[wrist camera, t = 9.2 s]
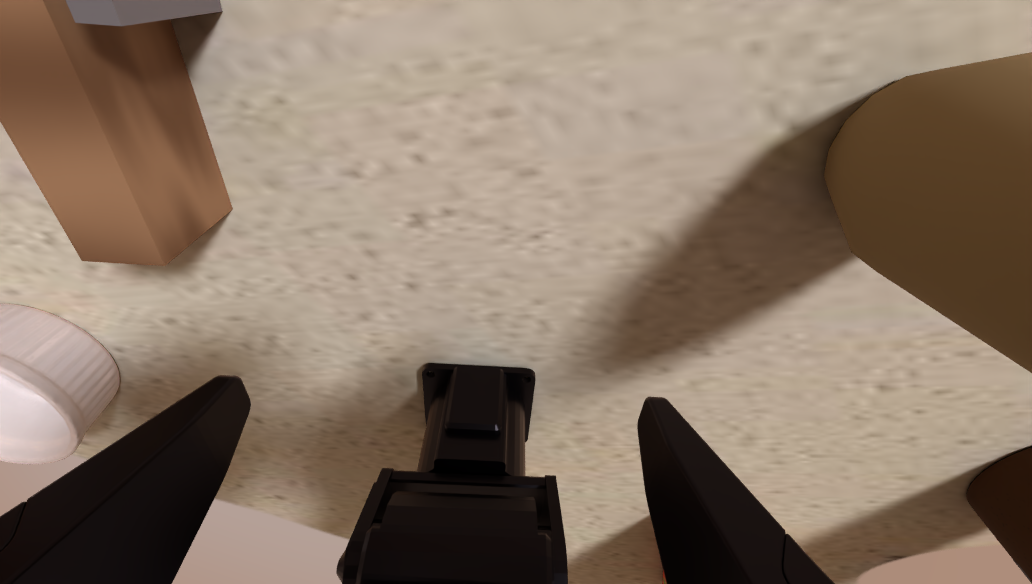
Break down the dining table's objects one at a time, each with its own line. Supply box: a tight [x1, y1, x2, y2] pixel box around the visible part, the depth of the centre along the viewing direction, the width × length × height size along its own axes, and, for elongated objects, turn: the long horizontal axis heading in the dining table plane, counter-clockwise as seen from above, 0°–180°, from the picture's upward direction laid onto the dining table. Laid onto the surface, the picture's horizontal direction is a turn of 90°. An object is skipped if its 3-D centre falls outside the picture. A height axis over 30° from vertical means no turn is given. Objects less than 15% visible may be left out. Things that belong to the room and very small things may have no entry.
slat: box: [0, 0, 233, 266], centre depth 15 cm, size 12×3×5 cm, turn 176°
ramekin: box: [0, 304, 120, 464], centre depth 24 cm, size 9×9×4 cm
